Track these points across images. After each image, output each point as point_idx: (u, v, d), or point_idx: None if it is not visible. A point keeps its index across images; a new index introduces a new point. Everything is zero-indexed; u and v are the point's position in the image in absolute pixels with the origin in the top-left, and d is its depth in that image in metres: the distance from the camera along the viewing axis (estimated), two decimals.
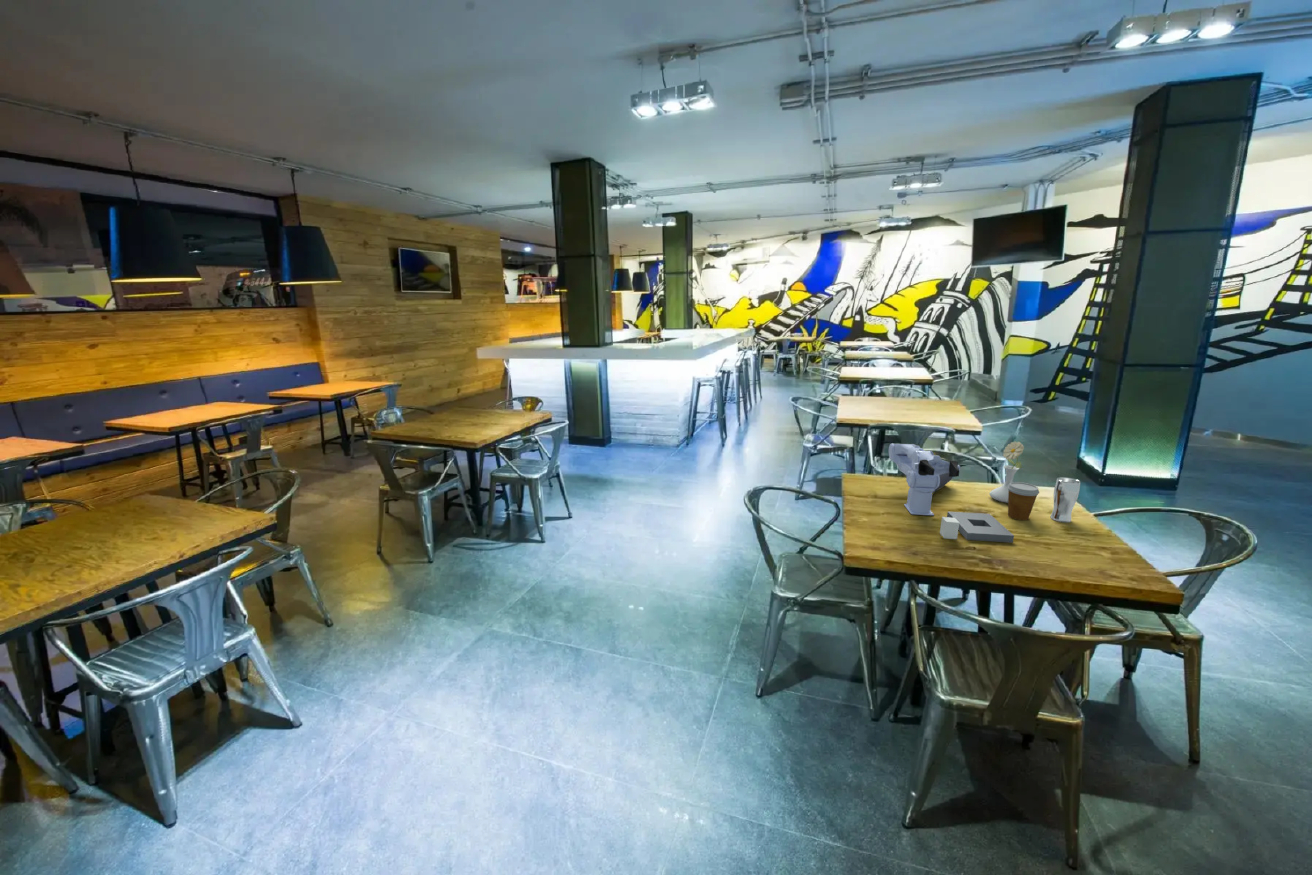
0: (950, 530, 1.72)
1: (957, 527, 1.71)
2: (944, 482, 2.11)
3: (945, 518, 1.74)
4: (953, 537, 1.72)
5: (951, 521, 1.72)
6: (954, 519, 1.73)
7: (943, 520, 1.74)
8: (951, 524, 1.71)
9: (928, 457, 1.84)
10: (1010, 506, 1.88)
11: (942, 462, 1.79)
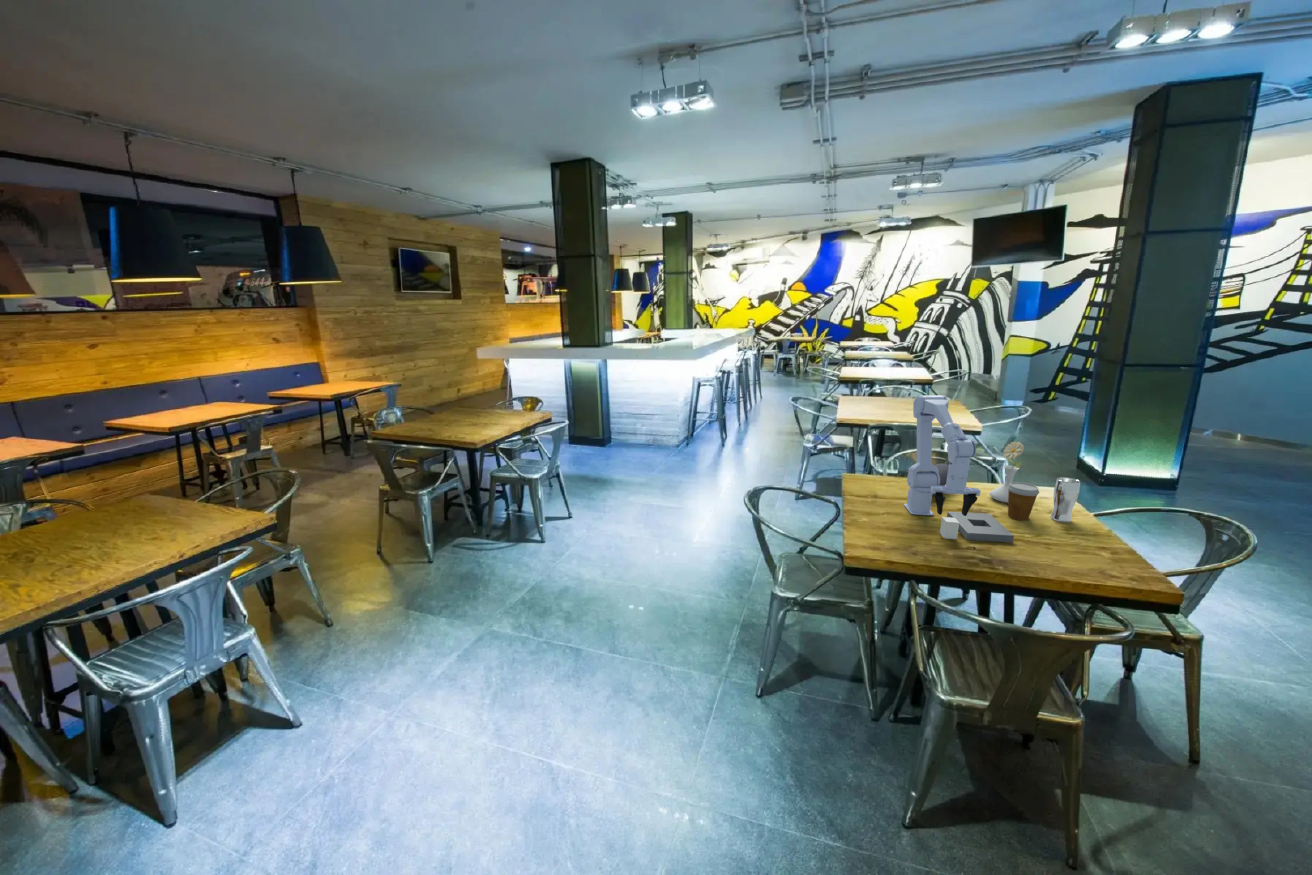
0: (950, 530, 1.72)
1: (957, 527, 1.71)
2: (944, 482, 2.11)
3: (945, 518, 1.74)
4: (953, 537, 1.72)
5: (951, 521, 1.72)
6: (954, 519, 1.73)
7: (943, 520, 1.74)
8: (951, 524, 1.71)
9: (955, 480, 1.67)
10: (1010, 506, 1.88)
11: None
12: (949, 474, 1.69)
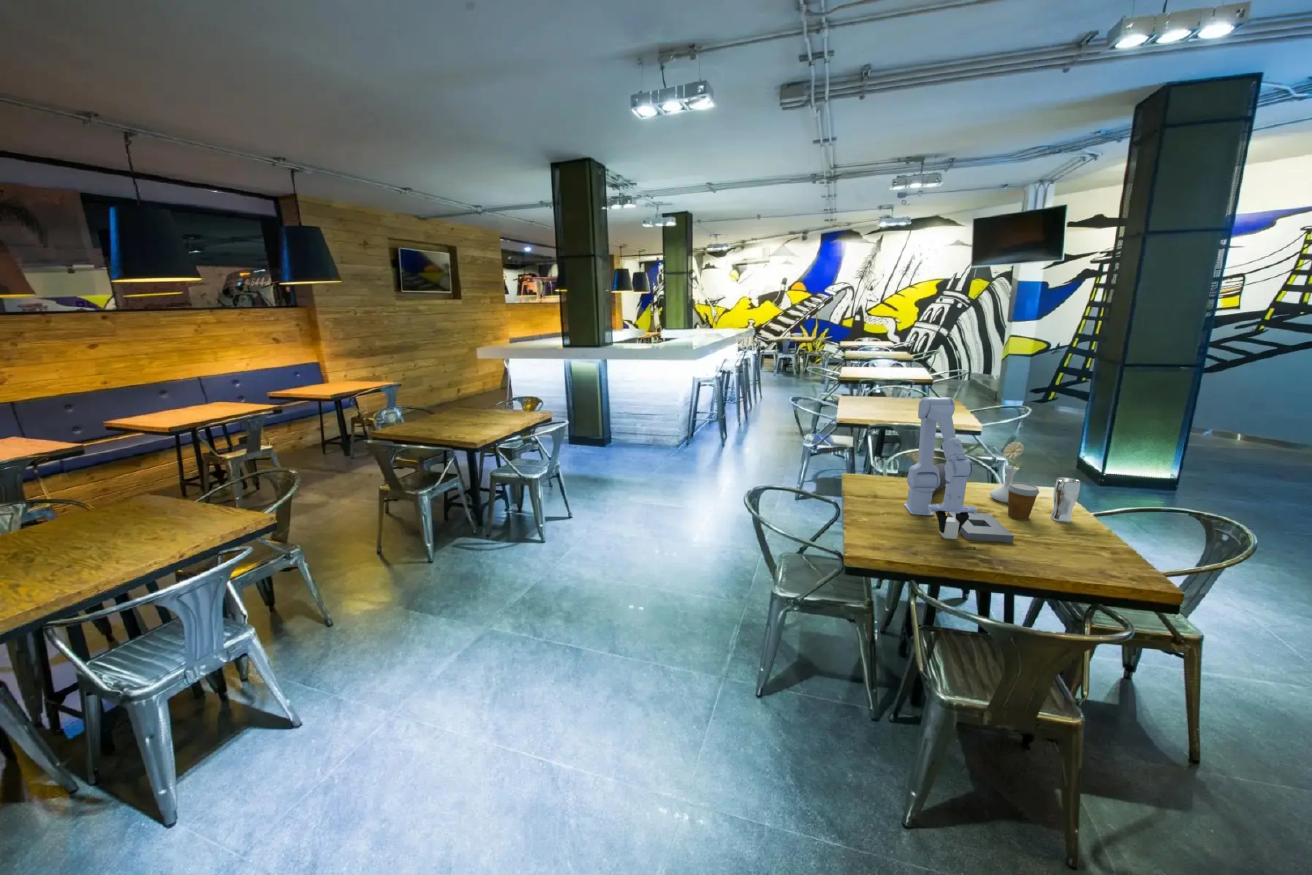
0: (950, 530, 1.72)
1: (957, 527, 1.71)
2: (944, 482, 2.11)
3: None
4: (953, 537, 1.72)
5: (951, 521, 1.72)
6: (954, 519, 1.73)
7: None
8: (951, 524, 1.71)
9: (952, 499, 1.69)
10: (1010, 506, 1.88)
11: None
12: (946, 493, 1.70)
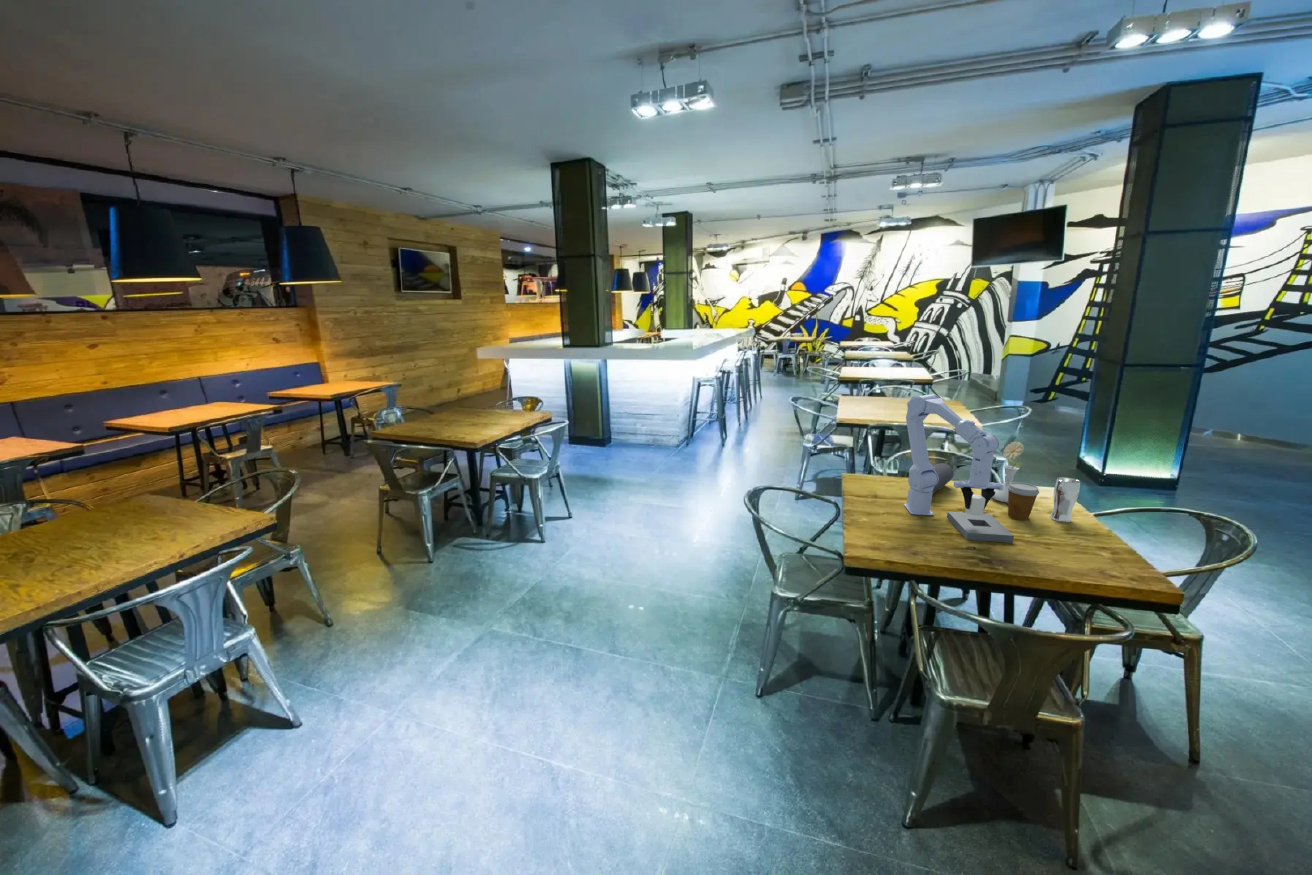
0: (976, 507, 1.74)
1: (983, 504, 1.73)
2: (944, 482, 2.11)
3: None
4: (979, 514, 1.74)
5: (977, 498, 1.73)
6: (980, 496, 1.75)
7: None
8: (977, 501, 1.73)
9: (978, 475, 1.71)
10: (1010, 506, 1.88)
11: None
12: (976, 470, 1.71)
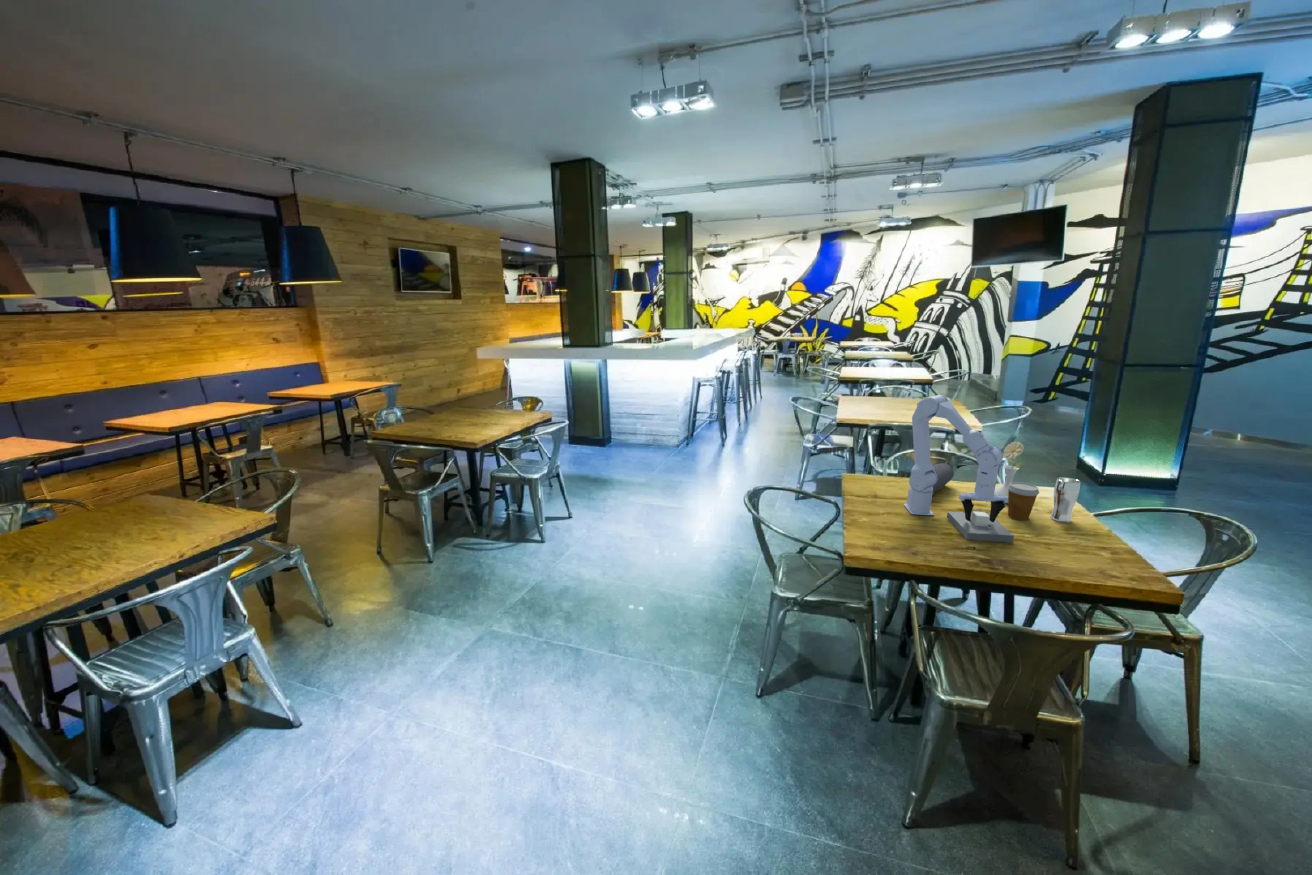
0: (981, 524, 1.77)
1: (987, 521, 1.76)
2: (944, 482, 2.11)
3: (975, 512, 1.79)
4: None
5: (981, 515, 1.76)
6: (984, 513, 1.78)
7: (973, 514, 1.79)
8: (982, 518, 1.76)
9: (984, 488, 1.73)
10: (1010, 506, 1.88)
11: None
12: (983, 484, 1.73)
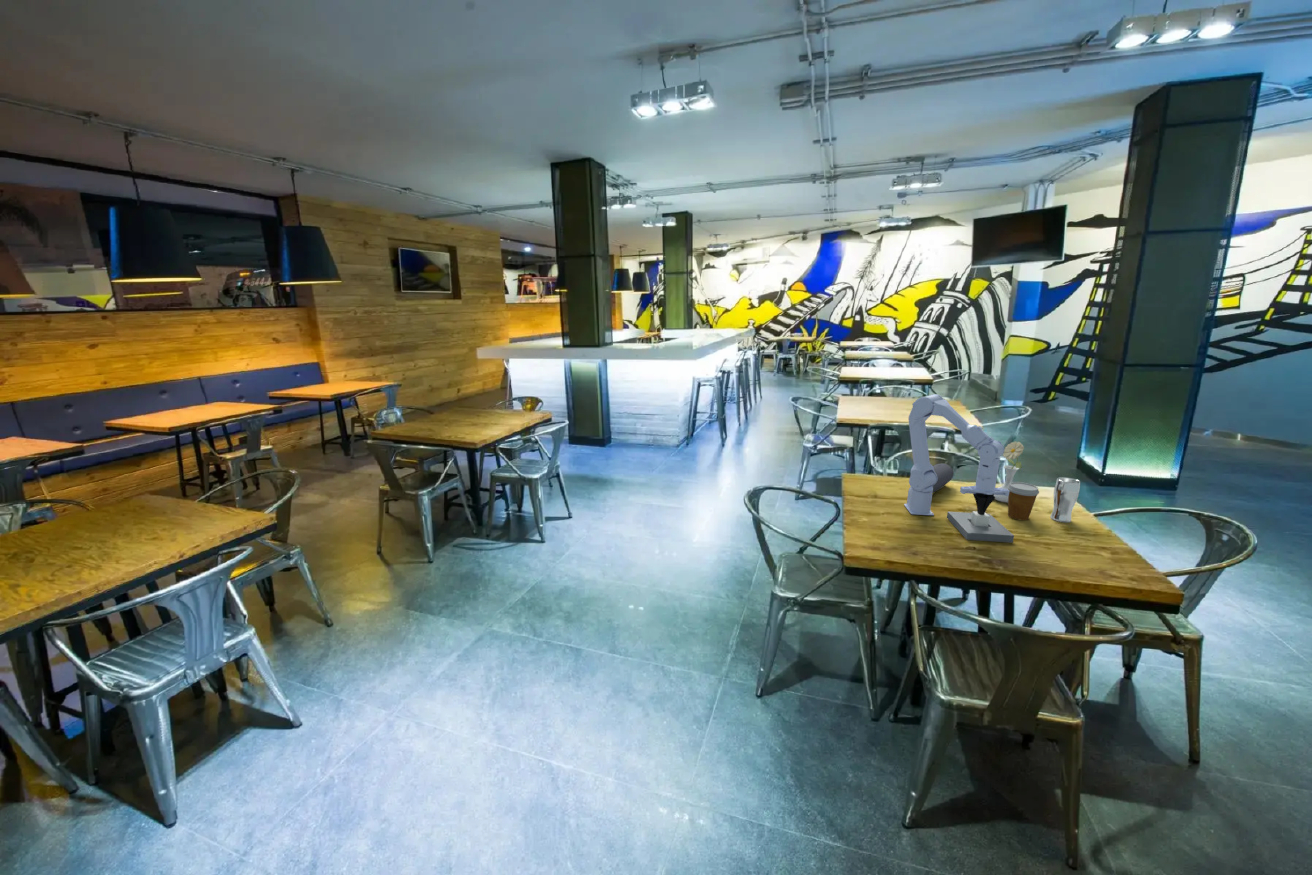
0: (981, 524, 1.77)
1: (987, 521, 1.76)
2: (944, 482, 2.11)
3: (975, 512, 1.79)
4: None
5: (981, 515, 1.76)
6: None
7: (973, 514, 1.79)
8: (982, 518, 1.76)
9: (985, 481, 1.72)
10: (1010, 506, 1.88)
11: None
12: (984, 476, 1.72)
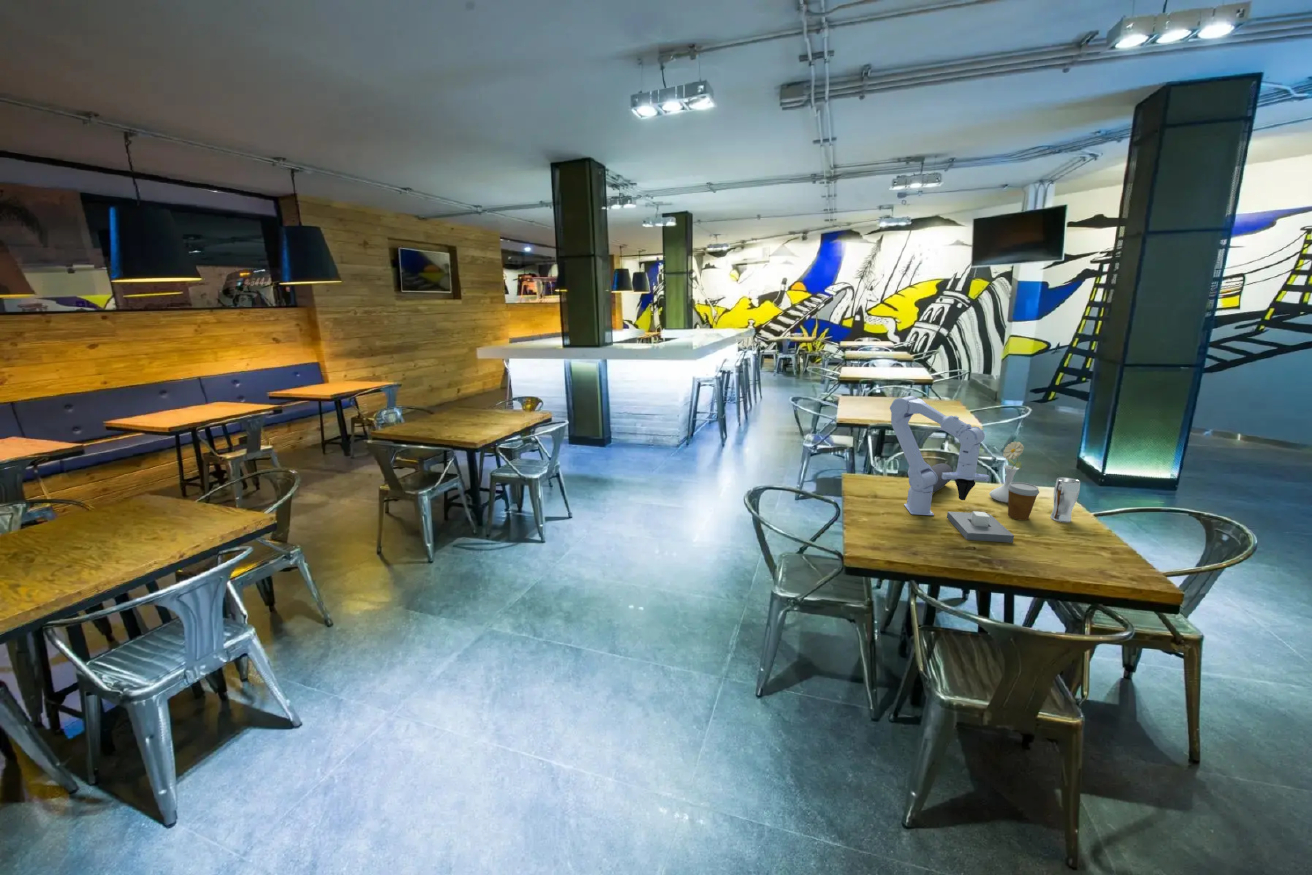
0: (980, 524, 1.77)
1: (987, 521, 1.76)
2: (944, 482, 2.11)
3: (975, 512, 1.79)
4: None
5: (981, 515, 1.76)
6: (984, 513, 1.78)
7: (973, 514, 1.79)
8: (981, 518, 1.76)
9: (965, 466, 1.76)
10: (1010, 506, 1.88)
11: None
12: (964, 462, 1.76)
